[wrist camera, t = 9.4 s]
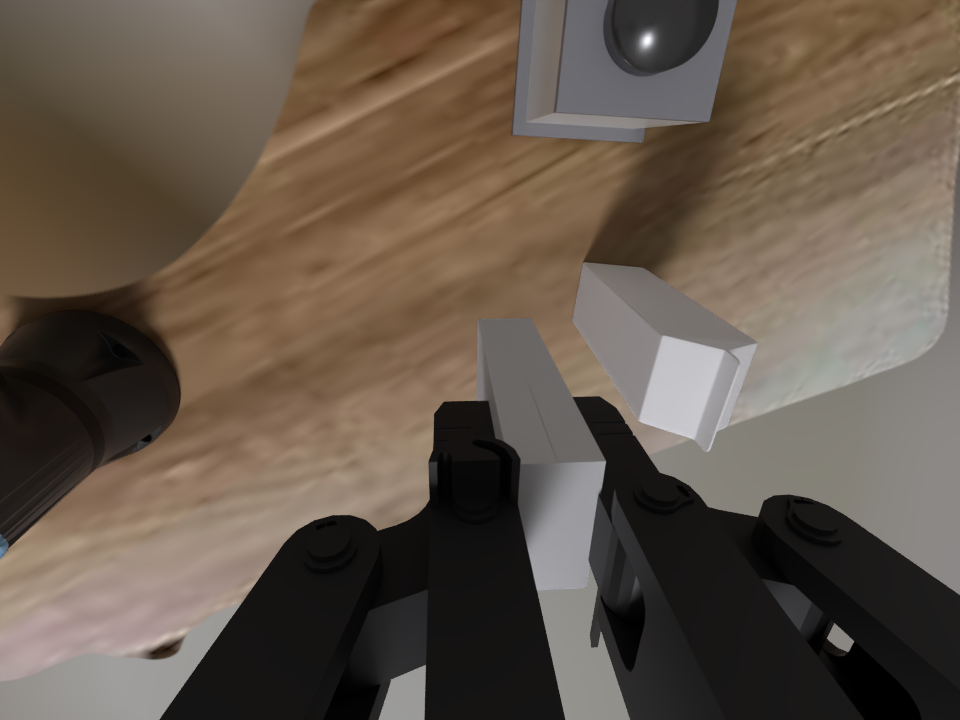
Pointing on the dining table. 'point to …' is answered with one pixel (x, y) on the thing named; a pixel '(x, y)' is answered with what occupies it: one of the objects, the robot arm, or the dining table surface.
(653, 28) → the dark gray domed cylinder
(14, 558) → the dining table surface
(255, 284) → the dining table surface
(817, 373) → the dining table surface
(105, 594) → the dining table surface
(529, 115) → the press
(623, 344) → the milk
